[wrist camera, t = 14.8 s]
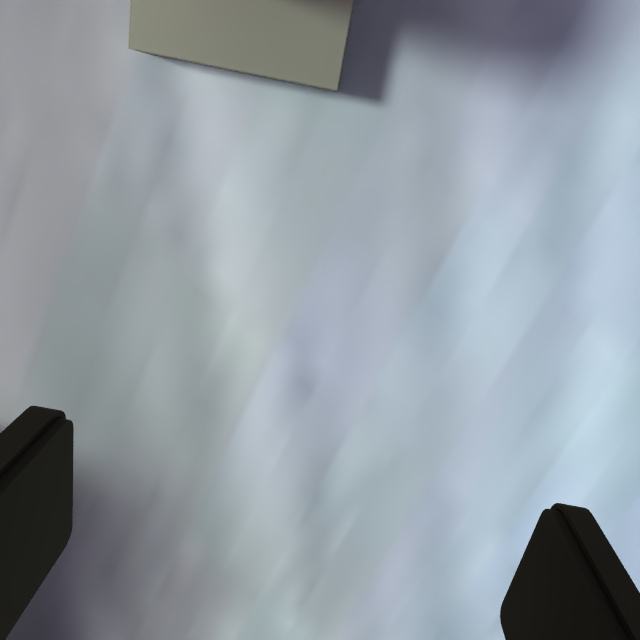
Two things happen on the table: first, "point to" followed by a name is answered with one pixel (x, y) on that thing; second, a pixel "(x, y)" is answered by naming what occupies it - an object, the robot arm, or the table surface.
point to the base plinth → (248, 36)
